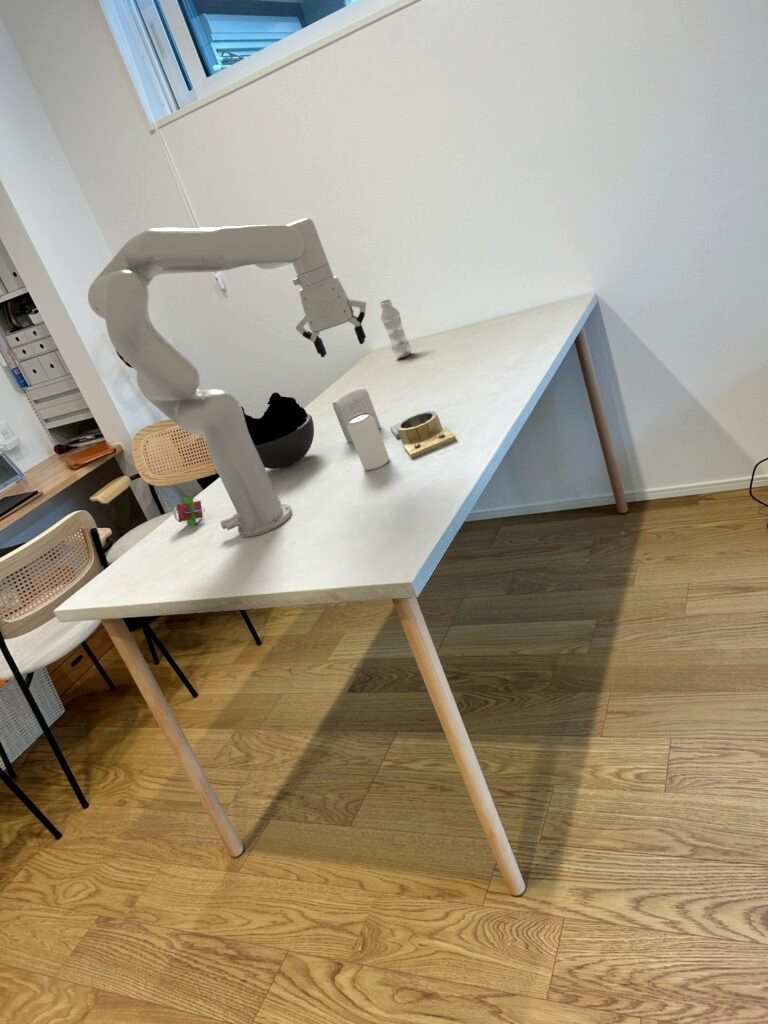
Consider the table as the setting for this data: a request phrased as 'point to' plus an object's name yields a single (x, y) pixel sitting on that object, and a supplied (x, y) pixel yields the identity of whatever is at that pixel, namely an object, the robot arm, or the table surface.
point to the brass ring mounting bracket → (422, 433)
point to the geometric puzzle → (188, 511)
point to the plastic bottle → (395, 330)
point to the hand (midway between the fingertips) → (343, 349)
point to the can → (367, 441)
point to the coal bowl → (281, 432)
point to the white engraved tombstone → (353, 408)
